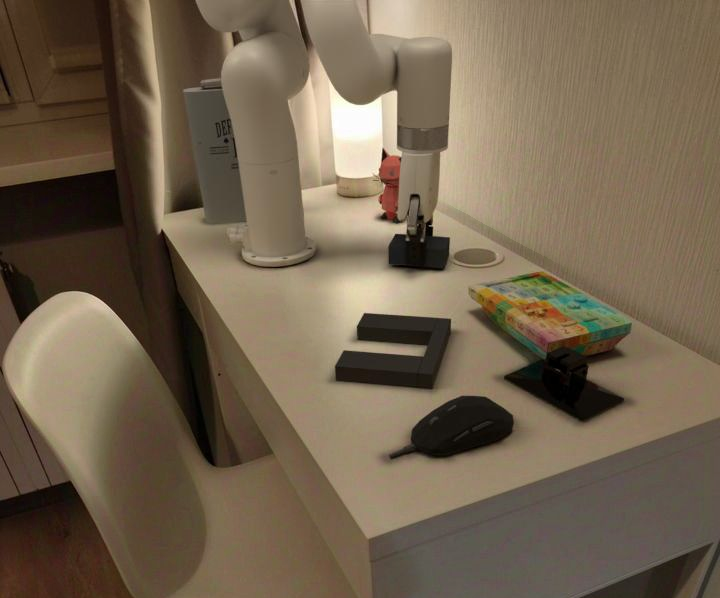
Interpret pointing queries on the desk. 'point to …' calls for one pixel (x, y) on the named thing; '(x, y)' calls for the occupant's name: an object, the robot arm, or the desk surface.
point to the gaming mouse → (459, 426)
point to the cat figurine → (389, 185)
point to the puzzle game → (550, 314)
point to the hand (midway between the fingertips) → (419, 256)
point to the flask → (215, 153)
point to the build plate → (565, 384)
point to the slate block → (434, 250)
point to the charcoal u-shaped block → (393, 365)
